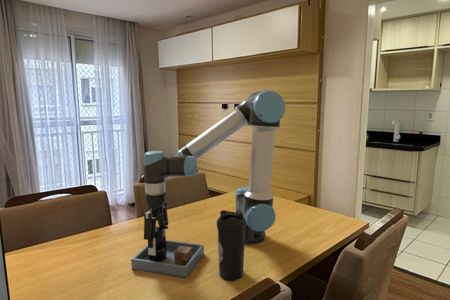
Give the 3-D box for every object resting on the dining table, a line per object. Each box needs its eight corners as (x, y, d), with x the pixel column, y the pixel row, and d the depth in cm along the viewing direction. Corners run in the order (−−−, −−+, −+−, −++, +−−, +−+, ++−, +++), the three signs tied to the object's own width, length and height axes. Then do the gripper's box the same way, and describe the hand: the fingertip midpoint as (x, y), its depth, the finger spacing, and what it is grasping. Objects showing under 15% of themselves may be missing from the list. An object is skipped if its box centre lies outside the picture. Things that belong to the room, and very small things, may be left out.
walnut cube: (192, 259, 115) (191, 247, 114) (186, 266, 110) (186, 253, 109) (180, 257, 116) (179, 245, 115) (174, 264, 111) (174, 251, 111)
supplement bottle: (162, 263, 112) (161, 233, 110) (145, 261, 113) (143, 232, 111) (169, 254, 119) (168, 225, 117) (153, 252, 120) (152, 224, 118)
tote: (203, 254, 120) (203, 244, 120) (186, 278, 103) (186, 267, 103) (155, 247, 126) (155, 238, 125) (131, 269, 109) (131, 259, 109)
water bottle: (216, 267, 111) (215, 207, 107) (243, 265, 112) (243, 206, 108) (217, 283, 101) (217, 218, 97) (247, 281, 102) (248, 217, 98)
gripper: (159, 184, 123) (161, 237, 126) (131, 199, 103) (134, 261, 107) (176, 186, 121) (177, 239, 124) (150, 201, 101) (153, 264, 105)
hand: (157, 249), depth 115 cm, fingers open, 7 cm apart
